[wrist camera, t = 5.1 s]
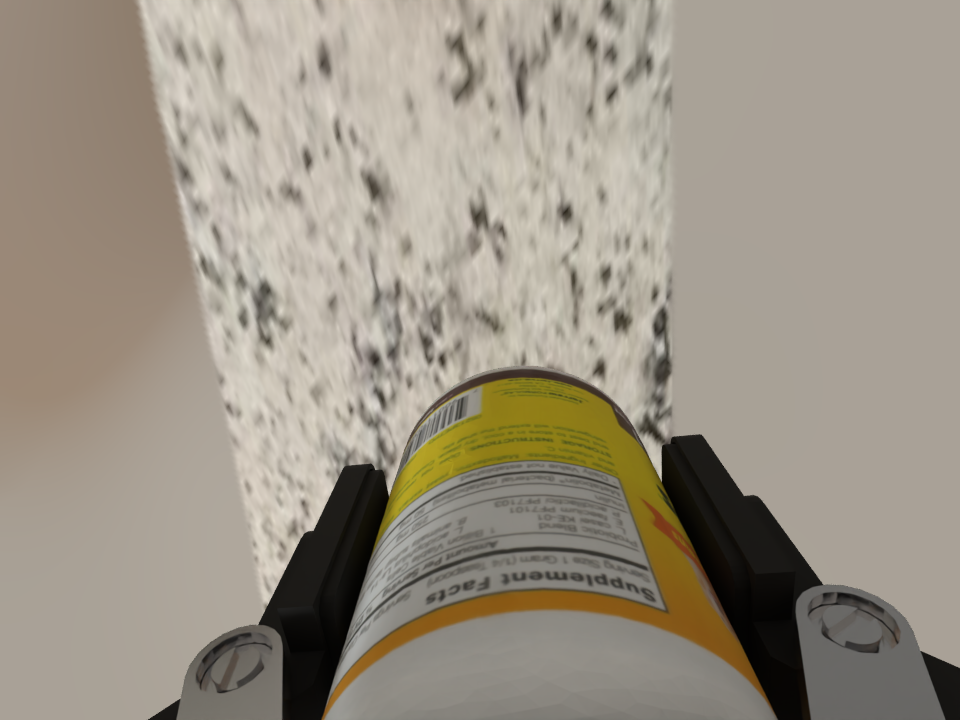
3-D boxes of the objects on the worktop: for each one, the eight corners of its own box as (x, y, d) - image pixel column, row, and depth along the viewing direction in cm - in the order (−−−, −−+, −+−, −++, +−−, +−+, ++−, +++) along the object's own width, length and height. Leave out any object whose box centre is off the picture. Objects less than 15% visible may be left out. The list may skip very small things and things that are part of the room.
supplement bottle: (621, 567, 15) (849, 1363, 5) (402, 551, 15) (225, 1312, 5) (661, 363, 13) (1153, 1041, 3) (408, 344, 13) (136, 960, 3)
